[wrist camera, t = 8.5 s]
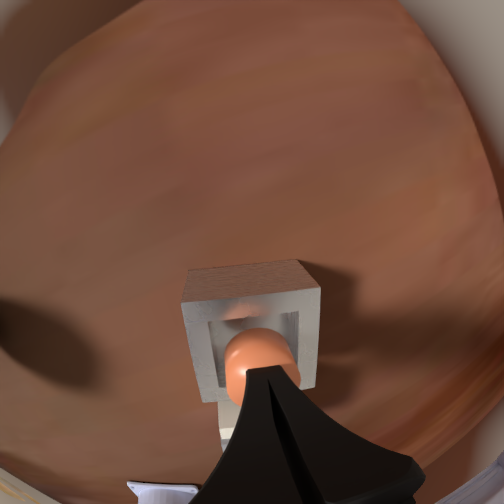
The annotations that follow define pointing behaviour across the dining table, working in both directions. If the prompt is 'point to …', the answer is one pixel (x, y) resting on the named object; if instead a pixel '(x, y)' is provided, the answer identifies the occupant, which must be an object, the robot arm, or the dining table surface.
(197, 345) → the button housing
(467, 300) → the dining table surface
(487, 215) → the dining table surface
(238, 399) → the button
